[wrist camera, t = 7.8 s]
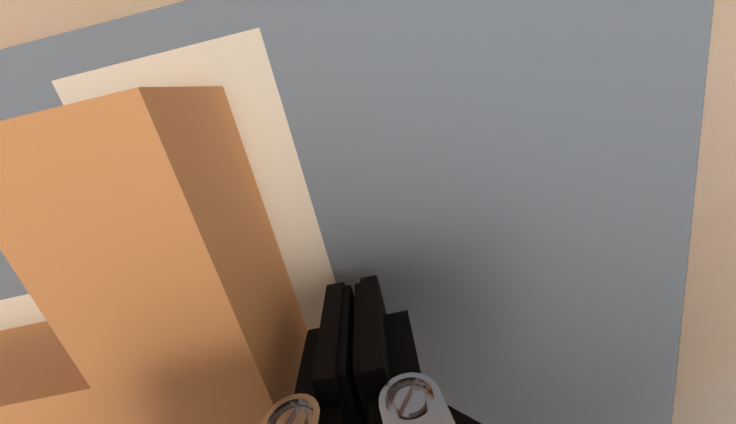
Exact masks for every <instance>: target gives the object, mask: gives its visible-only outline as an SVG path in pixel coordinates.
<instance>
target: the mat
mask: <svg viewBox="0 0 736 424" xmlns="http://www.w3.org/2000/svg"><path fill="white" fill-rule="evenodd" d="M713 6H714V0H188V1H184V2H180V3H176V4H172V5H169V6H165V7H161V8H157V9H153V10H150V11H146V12H142V13H138V14H134V15H131V16H127V17H123V18H119V19H116V20H112V21H108V22H104V23H100V24H97V25H93V26H89V27H85V28H81V29H78V30H74V31H70V32H66V33H63V34H59V35H55V36H51V37H47V38H44V39H40V40H36V41H32V42H28V43H25V44H21V45H17V46H13V47H10V48H6V49H2V50H0V121H2V120H6V119H10V118H14V117H19V116H23V115H27V114H31V113H35V112H39V111H43V110H47V109H51V108H55V107H59V106H63V105H67V104H71V103H75V102H79V101H83V100H87V99H91V98H95V97H100V96H104V95H108V94H112V93H116V92H120V91H124V90H128V89H132V88H136V87H184V86H223V88H224V91H225V94H226V97H227V99H228V102H229V105H230V108H231V111H232V114H233V117H234V120H235V123H236V125H237V128H238V131H239V134H240V137H241V140H242V143H243V146H244V149H245V151H246V154H247V157H248V160H249V163H250V166H251V169H252V172H253V175H254V177H255V180H256V183H257V186H258V189H259V192H260V195H261V198H262V201H263V203H264V206H265V209H266V212H267V215H268V218H269V221H270V224H271V227H272V229H273V232H274V235H275V238H276V241H277V244H278V247H279V250H280V253H281V255H282V258H283V261H284V264H285V267H286V270H287V273H288V276H289V279H290V281H291V284H292V287H293V290H294V293H295V296H296V299H297V302H298V305H299V307H300V310H301V313H302V316H303V319H304V322H305V325H306V328H307V331H308V330H310V329H315V328H320V322H321V316H322V310H323V304H324V298H325V292H326V287H327V285H330V284H335V283H339V282H344V283H345V286H347V285H351V287H352V290H353V294H354V293H355V284H356V283H360V278H363V277H368V276H373V275H377V277H378V281H379V285H380V289H381V293H382V297H383V301H384V305H385V309H386V313H387V314H390V313H395V312H400V311H405V310H408V315H409V319H410V324H411V328H412V333H413V337H414V342H415V347H416V351H417V356H418V361H419V366H420V370H421V374H424V375H427V376H428V377H430V378H431V379H433V380H434V381H435V383H436V384H437V385H438V387H439V389H440V391H441V393H442V395H443V397H444V399H445V402H446V404H447V405H449V406H451V407H453V408H454V409H456V410H458V411H460V412H462V413H463V414H465V415H467V416H469V417H471V418H472V419H474V420H476V421H478V422H480V423H481V424H671V422H672V412H673V402H674V392H675V382H676V372H677V363H678V353H679V343H680V333H681V323H682V313H683V303H684V293H685V283H686V273H687V263H688V254H689V244H690V234H691V224H692V214H693V204H694V194H695V184H696V174H697V164H698V154H699V144H700V135H701V125H702V115H703V105H704V95H705V85H706V75H707V65H708V55H709V45H710V35H711V26H712V16H713ZM43 321H47V320H46V319H45V317H44V316H43V314H42V313H41V311H40V310H39V308H38V307H37V305H36V304H35V302H34V301H33V299H32V298H31V296H30V294H29V293H28V291H27V290H26V288H25V287H24V285H23V284H22V282H21V281H20V279H19V278H18V276H17V275H16V273H15V272H14V270H13V269H12V267H11V265H10V264H9V262H8V261H7V259H6V258H5V256H4V255H3V253H2V252H1V250H0V331H1V330H6V329H10V328H15V327H20V326H24V325H29V324H34V323H39V322H43Z"/></svg>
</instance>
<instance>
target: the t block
mask: <svg viewBox="0 0 736 424" xmlns="http://www.w3.org/2000/svg"><path fill="white" fill-rule="evenodd" d="M0 250H1V252H2V253H3V255H4V256H5V258H6V259H7V261H8V262H9V264H10V265H11V267H12V269H13V270H14V272H15V273H16V275H17V276H18V278H19V279H20V281H21V282H22V284H23V285H24V287H25V288H26V290H27V291H28V293H29V294H30V296H31V298H32V299H33V301H34V302H35V304H36V305H37V307H38V308H39V310H40V311H41V313H42V314H43V316H44V317H45V319H46V320H47V321H43V322H39V323H34V324H29V325H24V326H20V327H15V328H10V329H6V330H1V331H0V424H261V421H262V420H263V418H264V416H265V415H266V413H267V412H268V411H269V409H270V408H271V407H272V406H273V405H274V404H276V403H277V402H278V401H280V400H281V399H283V398H285V397H287V396H290V395H293V394H294V391H295V386H296V382H297V377H298V372H299V368H300V363H301V359H302V354H303V349H304V345H305V340H306V335H307V332H308V331H307V328H306V325H305V322H304V319H303V316H302V313H301V310H300V307H299V305H298V302H297V299H296V296H295V293H294V290H293V287H292V284H291V281H290V279H289V276H288V273H287V270H286V267H285V264H284V261H283V258H282V255H281V253H280V250H279V247H278V244H277V241H276V238H275V235H274V232H273V229H272V227H271V224H270V221H269V218H268V215H267V212H266V209H265V206H264V203H263V201H262V198H261V195H260V192H259V189H258V186H257V183H256V180H255V177H254V175H253V172H252V169H251V166H250V163H249V160H248V157H247V154H246V151H245V149H244V146H243V143H242V140H241V137H240V134H239V131H238V128H237V125H236V123H235V120H234V117H233V114H232V111H231V108H230V105H229V102H228V99H227V97H226V94H225V91H224V88H223V86H184V87H136V88H132V89H128V90H124V91H120V92H116V93H112V94H108V95H104V96H100V97H95V98H91V99H87V100H83V101H79V102H75V103H71V104H67V105H63V106H59V107H55V108H51V109H47V110H43V111H39V112H35V113H31V114H27V115H23V116H19V117H14V118H10V119H6V120H2V121H0Z"/></svg>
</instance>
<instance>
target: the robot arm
mask: <svg viewBox="0 0 736 424" xmlns="http://www.w3.org/2000/svg"><path fill="white" fill-rule="evenodd" d="M261 424H481V423H480V422H478V421H476V420H474V419H472V418H471V417H469V416H467V415H465V414H463V413H462V412H460V411H458V410H456V409H454V408H453V407H451V406H449V405H447V404H446V402H445V399H444V397H443V395H442V393H441V391H440V389H439V387H438V385H437V384H436V383H435V381H434V380H433V379H431V378H430V377H428V376H427V375H424V374H421V370H420V366H419V361H418V356H417V351H416V347H415V342H414V337H413V333H412V328H411V324H410V319H409V315H408V310H405V311H400V312H395V313H390V314H387V313H386V309H385V305H384V301H383V297H382V293H381V289H380V285H379V281H378V277H377V275H373V276H368V277H363V278H360V283H356V284H355V293H354V294H353V290H352V287H351V285H347V286H345V283H344V282H339V283H335V284H330V285H327V287H326V292H325V298H324V304H323V310H322V316H321V322H320V328H315V329H310V330H308V332H307V335H306V340H305V345H304V349H303V354H302V359H301V363H300V368H299V372H298V377H297V382H296V386H295V391H294V394H293V395H290V396H287V397H285V398H283V399H281V400H280V401H278V402H277V403H276V404H274V405H273V406H272V407H271V408H270V409H269V411H268V412H267V413H266V415H265V416H264V418H263V420H262V421H261Z"/></svg>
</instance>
